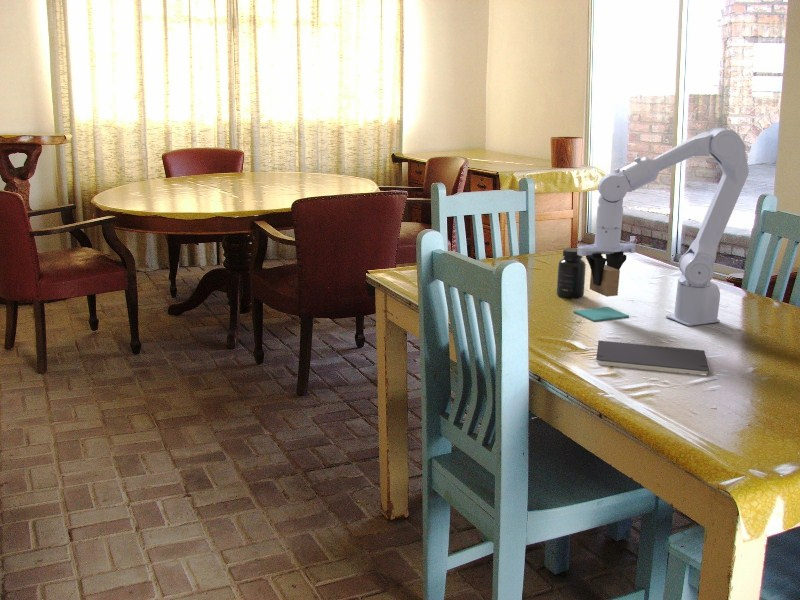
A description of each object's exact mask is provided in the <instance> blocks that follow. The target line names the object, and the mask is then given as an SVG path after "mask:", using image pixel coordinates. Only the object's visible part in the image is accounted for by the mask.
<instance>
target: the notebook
mask: <svg viewBox="0 0 800 600" xmlns="http://www.w3.org/2000/svg"><path fill="white" fill-rule="evenodd" d="M596 349H597V350H596V359H595V360H596V361H597V362H596V364H597V365H601V366H610V367H618V368H630V369H637V370H639V369H640V370H648V371H649V370H650V371H658V372H659V371H660V372H667V373H668V372H669V373H677V372H679V373H678V374H686V373H690V374H689V375H696V374H707V375H708V373H709V372H710V366H709V363H708V358H707V356H706V352H705V350H703V349H692V348H681V347H673V346H672V347H671V346H670V347H669V346H662V345H661V346H659V345H650V344H640V343H628V342H619V341H609V340H598V342H597V348H596Z"/></svg>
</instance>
